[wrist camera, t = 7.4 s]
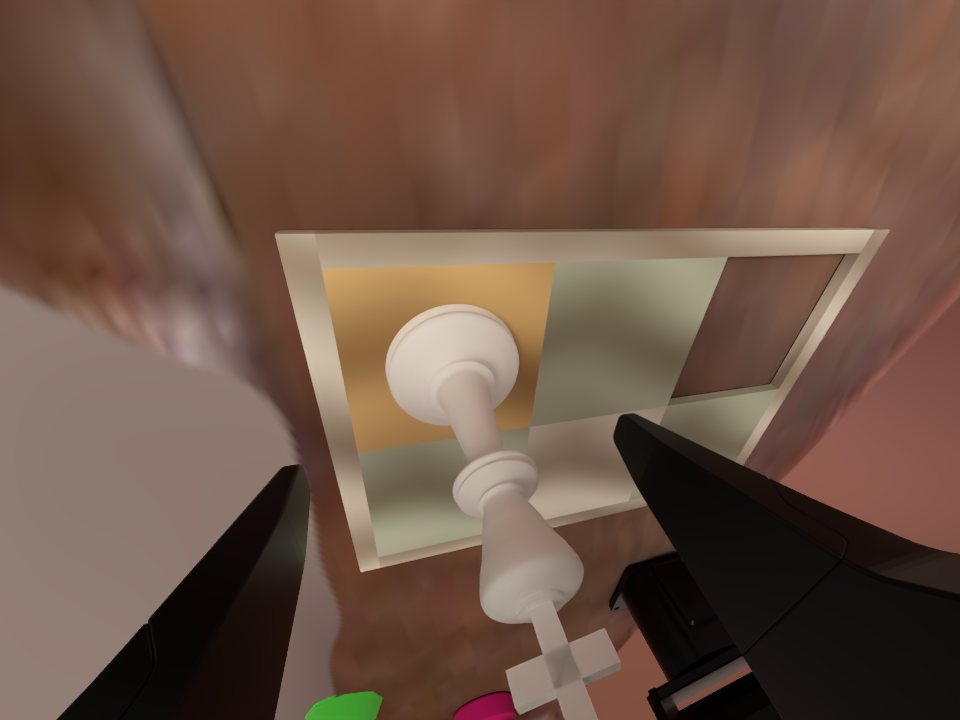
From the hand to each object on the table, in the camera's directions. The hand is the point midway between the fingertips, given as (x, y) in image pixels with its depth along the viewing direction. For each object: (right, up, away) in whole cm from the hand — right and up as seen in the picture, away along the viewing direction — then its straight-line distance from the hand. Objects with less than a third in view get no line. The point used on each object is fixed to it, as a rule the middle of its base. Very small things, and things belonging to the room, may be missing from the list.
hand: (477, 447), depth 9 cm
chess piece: (-1, +2, +4) cm, 5 cm away
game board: (+6, 0, +8) cm, 10 cm away
